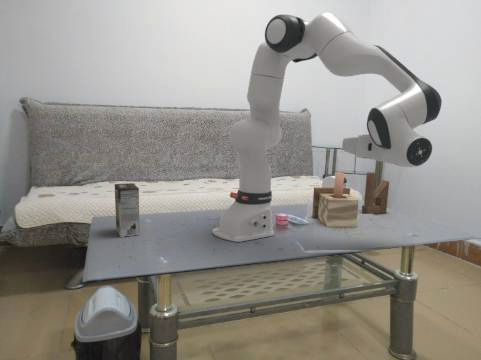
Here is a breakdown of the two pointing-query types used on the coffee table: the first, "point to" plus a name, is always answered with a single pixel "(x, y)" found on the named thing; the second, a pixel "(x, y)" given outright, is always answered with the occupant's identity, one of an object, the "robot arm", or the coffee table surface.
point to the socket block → (338, 210)
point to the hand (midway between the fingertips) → (365, 143)
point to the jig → (323, 191)
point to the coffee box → (127, 209)
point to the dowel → (338, 185)
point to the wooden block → (375, 195)
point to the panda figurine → (330, 181)
